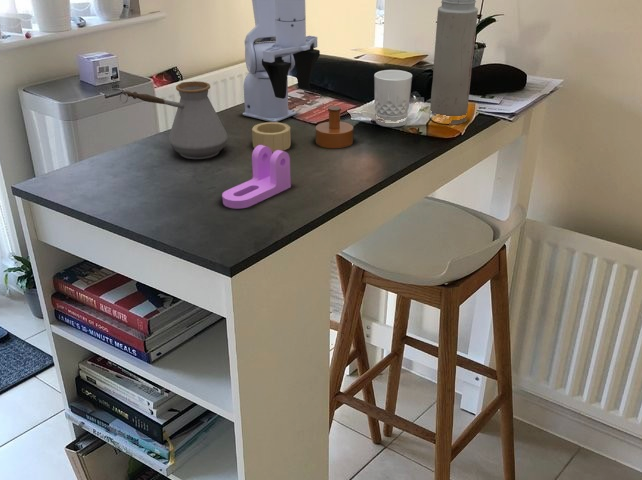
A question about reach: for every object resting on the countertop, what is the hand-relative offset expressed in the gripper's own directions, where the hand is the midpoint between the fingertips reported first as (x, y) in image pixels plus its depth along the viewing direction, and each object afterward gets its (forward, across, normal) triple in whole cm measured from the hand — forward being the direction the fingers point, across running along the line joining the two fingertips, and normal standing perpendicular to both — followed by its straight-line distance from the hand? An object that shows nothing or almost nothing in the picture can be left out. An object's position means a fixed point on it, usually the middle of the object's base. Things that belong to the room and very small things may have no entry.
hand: (292, 92), depth 148 cm
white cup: (+10, +21, -10) cm, 26 cm away
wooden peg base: (+10, +4, -7) cm, 13 cm away
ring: (+10, -5, +2) cm, 11 cm away
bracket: (+10, -26, -11) cm, 30 cm away
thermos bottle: (+10, +30, -19) cm, 37 cm away
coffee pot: (+10, -21, +12) cm, 26 cm away
